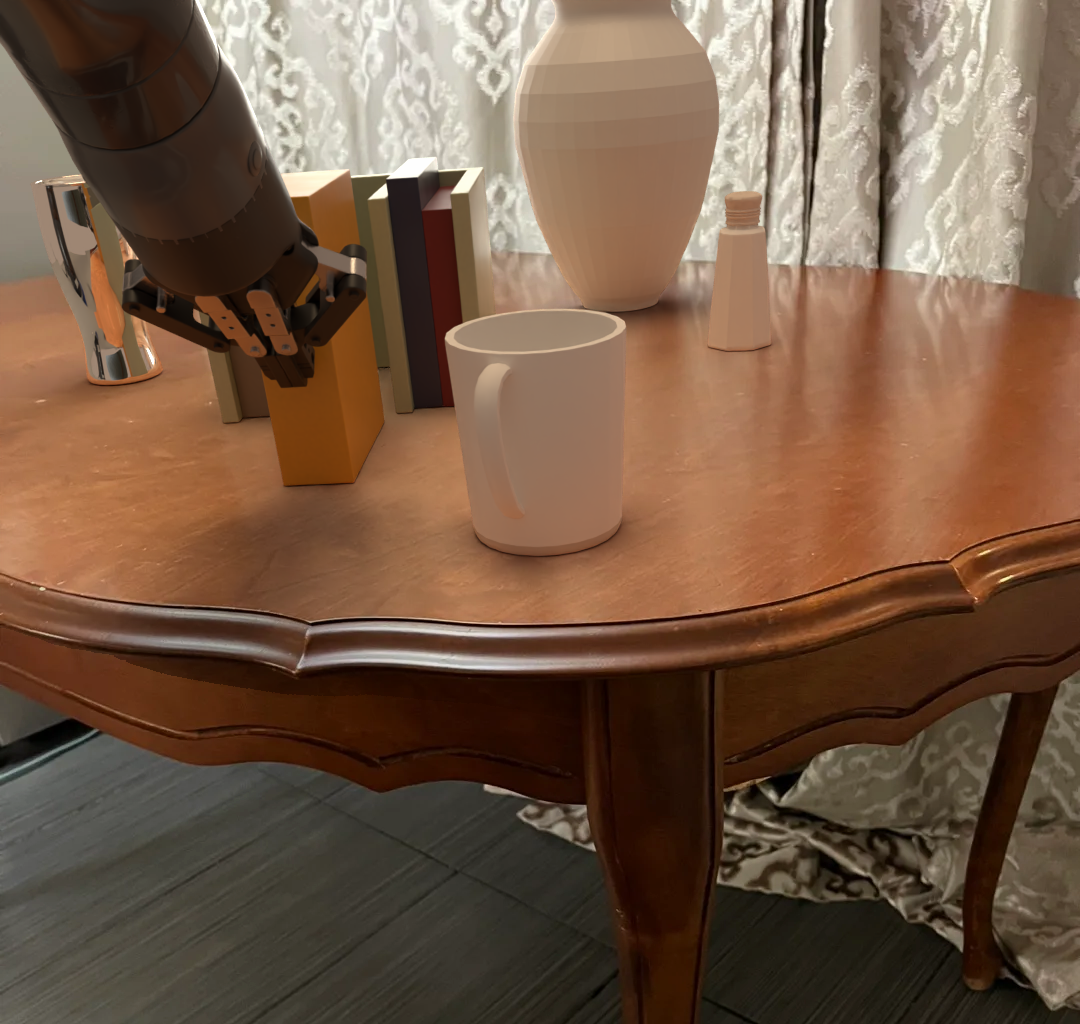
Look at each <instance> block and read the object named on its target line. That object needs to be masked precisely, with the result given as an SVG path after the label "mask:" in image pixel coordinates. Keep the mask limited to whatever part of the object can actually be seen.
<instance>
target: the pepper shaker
mask: <svg viewBox="0 0 1080 1024" xmlns="http://www.w3.org/2000/svg"><path fill="white" fill-rule="evenodd" d="M762 201H763V195H762V193H760V192H758V191H754V190H741V191H740V190H739V191H733V192H730V193H727V194H726V195H725V196H724V204H725V209H724V211H725V212H724V214H725V215H724V217H725V221H724V222H725V223H724V224H725V225H726V227H722V228H720V229H719V232H718V241H717V249H716V260H715V267H714V278H713V286H712V295H711V304H710V313H709V322H708V333H707V347H708V348H710V349H711V348H712V349H715V350H720V351H726V352H737V351H738V352H739V351H740V352H741V351H754V350H759V349H762V348H765V347H768V346H770V345H771V344H772V329H771V328H772V327H771V308H770V289H769V287H770V286H769V269H768V268H769V267H768V248H767V247H768V246H767V233H766V228H765V227H764V226H763V225H759V224H760V222H761V220H760V217H761V209H762V208H761V204H762Z"/></svg>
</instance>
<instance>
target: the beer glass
mask: <svg viewBox="0 0 1080 1024" xmlns="http://www.w3.org/2000/svg"><path fill="white" fill-rule="evenodd" d="M29 185H30V187H31V192H32V195H33V202H34V206H35V207H34V208H35V211H36V216H37V221H38V226H39V230H40V233H41V237H42V238H41V239H42V242H43V245H44V249H45V252H46V255H47V258H48V261H49V264H50V266H51V268H52V271H53V274H54V276H55V279H56V280H57V282H58V285H59V288H60V289H61V292H62V294H63V296H64V298H65V300H66V302H67V305H68V307H69V309H70V311H71V313H72V315H73V318H74V320H75V322H76V325H77V328H78V331H79V334H80V336H81V341H82V346H83V351H84V352H83V353H84V359H85V370H86V378H87V381H88V382H89V383H91V384H93V385H98V386H120V385H127V384H132V383H133V384H134V383H138V382H142V381H145V380H149V379H151V378H154V377H156V376H159V375H160V374H161V373H162V372H163V369H164V367H163V365H162V362H161V359H160V357H159V355H158V352H157V350H156V348H155V345H154V343H153V340H152V338H151V335H150V332H149V328H148V322H146V321H144V320H141V319H139V318H137V317H135V316H132V315H130V314H128V313H126V312H125V311H124V310H123V309H122V296H123V295H122V287H123V276H124V269H125V262H126V261H127V260H130V259H138V258H137V256H136V255H135V253H134V252H133V250H132V249H131V247H130V246H129V244H128V243H127V241H126V240H125V238H124V237H123V236H122V234H121V233H120V231H119V230H118V228H117V227H116V225H115V224H114V222H113V221H112V219H111V218H110V216H109V215H108V213H107V212H106V210H105V209H104V207H103V206H102V204H101V203H100V201H99V200H98V199H97V197H96V196H95V194H94V193H93V191H92V190H91V188H90V187H89V186H88V184H86V182H85V181H84V179H83V177H82V175H81V173H79V174H78V173H77V174H69V175H62V176H61V175H60V176H55V177H48V178H43V179H42V178H41V179H38V180H34V181H32V182H31V183H30V184H29ZM138 260H139V259H138Z"/></svg>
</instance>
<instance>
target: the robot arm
mask: <svg viewBox="0 0 1080 1024" xmlns="http://www.w3.org/2000/svg"><path fill="white" fill-rule="evenodd" d="M0 45H1V46H2V47H3V49H4V50H5V51H6V53H7V54H8V56H9V58H10V59H11V61H12V62H13V64H14V65H15V67H16V68H17V69H18V71H19V73H20V75H21V76H22V77H23V79H24V80H25V82H26V83H27V85H28V87H29V88H30V90H31V91H32V92H33V94H34V95H35V97H36V99H37V100H38V101H39V103H40V105H41V106H42V107H43V109H44V110H45V112H46V113H47V115H48V116H49V118H50V119H51V121H52V123H53V124H54V125H55V128H56V129H57V131H58V133H59V135H60V138H61V140H62V143H63V145H64V146H65V148H66V150H67V152H68V154H69V157H70V158H71V160H72V162H73V164H74V165H75V167H76V169H77V171H78V172H79V174H81V175H82V177H83V179H84V181H85V182H86V184H88V186H89V187H90V188H91V190H92V191H93V193H94V194H95V196H96V197H97V199H98V200H99V201H100V203H101V204H102V206H103V207H104V209H105V210H106V212H107V213H108V215H109V216H110V218H111V219H112V221H113V222H114V224H115V225H116V227H117V228H118V230H119V231H120V233H121V234H122V236H123V237H124V238H125V240H126V241H127V243H128V244H129V246H130V247H131V249H132V250H133V252H134V253H135V255H136V256H137V258H138V259H139V260H138V259H130V260H127V261H126V262H125V269H124V276H123V287H122V295H123V296H122V309H123V310H124V311H125V312H126V313H128V314H130V315H132V316H135V317H137V318H139V319H141V320H144V321H146V322H147V324H148V323H149V324H150V325H153V326H154V327H157V328H159V329H161V330H164V331H166V332H169V333H170V334H173V335H175V336H178V337H180V338H181V339H184V340H186V341H189V342H191V343H193V344H195V345H197V346H200V347H202V348H205V349H206V350H207V349H209V350H211V351H214V352H217V353H225V352H228V351H229V350H230V346H239V347H241V348H242V350H243V351H244V352H245V353H246V354H247V355H249V356H252V357H254V358H255V360H256V361H257V363H258V365H259V366H260V368H261V370H262V371H263V373H264V375H265V376H266V377H268V378H269V379H270V380H276V381H277V382H278V384H279V386H280V387H281V388H291V387H306V386H307V382H308V378H313V376H314V364H315V350H314V348H313V346H314V347H321V346H324V345H326V344H327V343H328V342H329V340H330V339H331V338H332V337H333V336H334V335H335V333H336V332H337V331H338V330H339V329H340V328H341V326H342V325H343V324H344V323H345V322H346V321H347V319H348V318H349V317H350V316H351V315H352V313H353V312H354V311H355V310H356V309H357V308H358V306H359V305H360V304H361V303H362V302H363V301H364V299H365V298H366V284H367V251H366V249H365V248H364V247H363V246H361V245H357V244H349V245H346V246H345V247H344V248H343V249H342V250H341V252H340V253H337V252H334V251H331V250H329V249H326V248H323V247H320V246H319V242H318V238H317V236H316V234H315V233H314V231H313V230H312V229H311V228H309V227H308V226H307V225H305V224H304V223H303V222H302V221H301V220H300V219H299V218H298V217H297V215H296V212H295V209H294V206H293V203H292V200H291V197H290V195H289V192H288V190H287V188H286V185H285V183H284V181H283V178H282V176H281V174H282V173H281V171H280V169H279V166H278V165H277V162H276V160H275V157H274V155H273V153H272V151H271V148H270V146H269V144H268V141H267V139H266V137H265V135H264V132H263V129H262V127H261V125H260V123H259V120H258V118H257V116H256V114H255V111H254V109H253V106H252V104H251V101H250V100H249V97H248V95H247V92H246V90H245V89H244V86H243V83H242V81H241V80H240V78H239V76H238V74H237V72H236V70H235V69H234V66H233V65H232V64H231V62H230V60H229V58H227V56H226V55H225V52H224V51H223V49H222V48H221V47H220V45H219V42H218V41H217V39H216V37H215V34H214V33H213V30H212V28H211V25H210V23H209V21H208V18H207V16H206V14H205V12H204V9H203V7H202V5H201V3H200V0H0ZM314 274H316V275H317V276H318V277H319V281H318V282H317V283H316V284H315V286H314V287H313V288H312V290H311V291H310V292H309V294H308V295H307V296H306V299H305V304H303V305H300V306H297V303H296V301H297V299H298V298H299V296H300V295H301V293H302V292H303V290H304V289H305V287H306V286H307V284H308V283H309V281H310V280H311V278H312V277H313V275H314ZM194 310H195V311H197V312H198V313H199V312H201V313H204V314H206V315H208V316H209V323H208V326H205V325H203V324H201V322H199V321H198V320H196V319H195V317H194Z"/></svg>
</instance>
